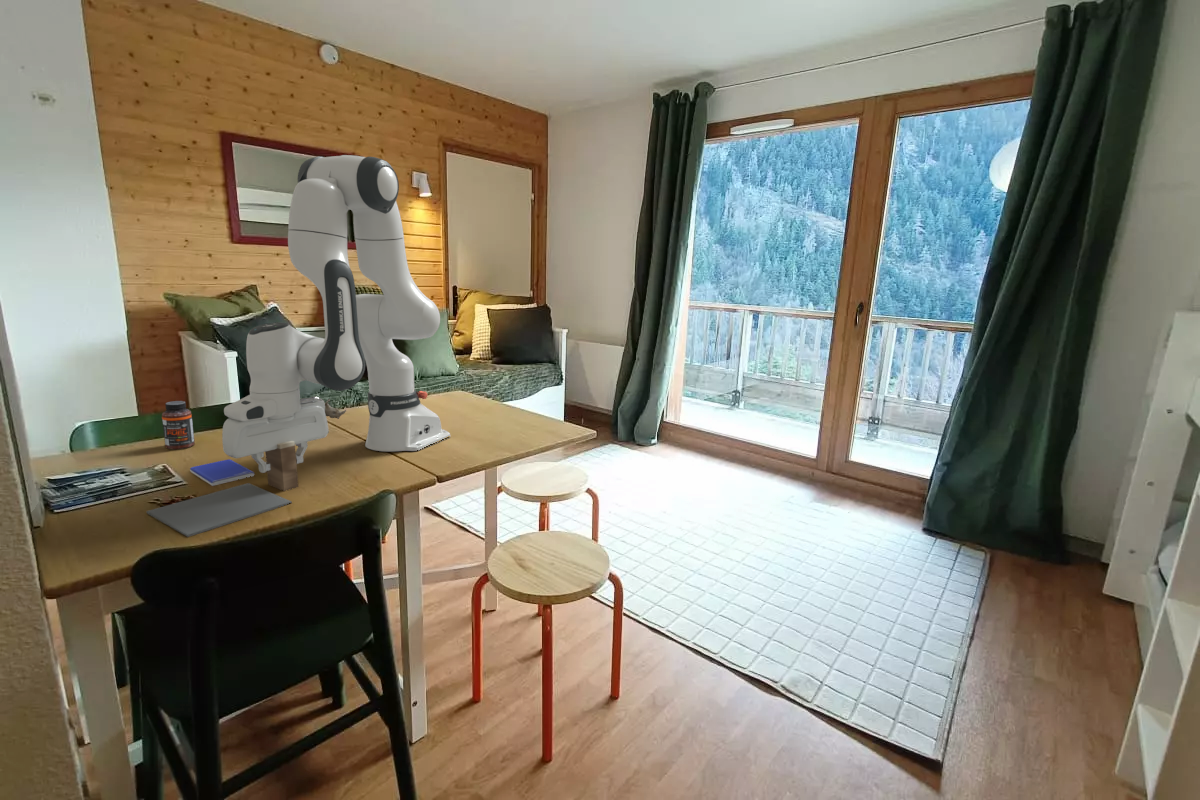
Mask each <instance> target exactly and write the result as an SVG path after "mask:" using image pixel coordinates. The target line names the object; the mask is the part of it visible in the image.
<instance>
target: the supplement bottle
mask: <svg viewBox="0 0 1200 800" xmlns="http://www.w3.org/2000/svg"><path fill="white" fill-rule="evenodd" d="M186 407H187V405H186V401H183V400H175V401H174V400H173V401H168V402H165V411H163V412H162V414H161V420H162V421H161V422H162V429H163V435H164V436H163V437H164V445H165V448H166V449H169V450H184V449H188V448H191V447H192V446H193V447H194V446H195V442H196V441H195V434H194V433H195V432H194V426H193V425H194V424H193V417H192V415H193V414H192V411H191V410H190V409H188V408H186Z"/></svg>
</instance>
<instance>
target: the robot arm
mask: <svg viewBox="0 0 1200 800" xmlns="http://www.w3.org/2000/svg"><path fill="white" fill-rule="evenodd" d="M399 191H400V183H399V179H398V175H397V173H396V171H395V169H394V168H393V166H392V165H391V164H390V163H389V162H388V161H386V160H385V159H382V158H379V157H375V156H359V155H353V154H351V155H349V154H348V155H347V154H342V155H336V156H335V155H334V156H326V157H325V156H316V157H315V156H314V157H311V158H308V159H306V160H304V161H303V162H302V163H301V165H300V166H299V169H298V172H297V184H296V185H295V187H294V190H293V193H292V197H291V203H290V208H289V215H288V227H287V229H288V230H287V231H288V232H287V245H288V246H287V247H288V253H289V258H290V261H291V263H292V265H293V266H294V268H295V269H296V270H297V271H298V272H299V273H300V274H301V275H303V276H304V277H306V278H307V279H308V280H309V281H310V282H312V284H313V285H314V286H315V287H316V288H317V290H318V291H319V294H320V296H321V299H322V305H323V319H324V320H323V322H324V332H325V333H324V338H323V337H319V336H316V335H311V334H308V333H306V332H304V331H303V332H302V331H300V330H298V329H297V328H294V327H293V326H291V324H289V323H287V322H281V321H278V322H277V321H276V322H268V323H264V324H258V325H256V326H254V327H252V328H251V329H250V330H249V332H248V334H247V338H246V346H245V348H246V350H245V351H246V354H245V355H246V367H247V371H248V373H249V377H250V385H249V394H248V395H246V396H245V397H242V398H241V399H239V400H237V401H234V402H232V403H230V404H227V405H226V406H225V407H224V408H223V413H224V416H226V417H227V419H226V420H225V421H224V423H223V426H222V434H221V435H222V440H221V441H222V448H223V449H222V450H223V452H224V454H225V455H227V456H228V457H231V458H234V459H241V458H244V457H249V456H251V458H252V459H253V460H254V462H256V464H258V465H257V466H258V471H259V473H261V474H265V473H267V472H269V471H271V468H270V463H267V462H266V461H265V460H263V458H264V457H265V454H264V453H265V452H266V451H270V450H275V449H277V444H280V443H284V442H288V441H294V442H295V447H296V446H297V448H296V450H295V452H296V464H297V465H299V464H302V463H304V454H305V452H306V451H307V448H308V442H313V441H316V440H320V439H324V438H326V437H327V436H328V434H329V424H328V419H327V416H326V414H325V403H326V402H325V400H323V399H322V398H320V397H318V396H311V397H306V398H305V397H304V398H303V397H302V398H301V394H300V393H301V390H300V383H302V382H306V381H307V382H310V383H314V384H317V385H321V386H324V387H325V388H327V389H328V388H329V389H330V390H332V391H333V390H334V391H339V392H340V391H341V392H342V391H347V390H350V389H351V388H353V387H355V386H356V385H357V384H359V382H360V380H362V378H363V376H364V373H365V371H366V369H367V377H368V380H367V381H368V390H369V391H368V392H367V407H368V412H369V419H368V420H369V422H368V431H367V436H366V441H365V444H364V446H365V448H367V449H369V450H372V451H377V452H378V451H379V452H402V451H407V452H417V450H418V451H420V449H421V450H423V449H425V448H424V447H426V446H428V445H430V444H433V443H435V442H437V441H439V440H442V439H444V438H446V437H448V436H450V437H451V433H450V432H449V431H448V430H446V429H443V428H442V422H441V418H440V416H438V413H435V412H434V411H432V410H431V409H430V408H428V407H426V406H425V405H424V404H423V403H421V401H420V399H422V400H426V399H427V398H428V396H429V395H428V393H427V391H422V390H420V391H417V390H415V373H414V372H415V368H414V363H413V361H412V360H411V358H410V357H409V356H408V355H406V354H404V353H402V352H401V351H399V349H398V348H397V347H396V346H395V344H394V342H393V340H406V341H407V340H408V341H415V340H417V341H418V340H422V339H428V338H429V339H430V338H432V337H433V336H434V335H435V334H436V333H437V331H438V329H439V328H440V324H441V314H440V311H439V308H438V306H437V305H436V303H435V301H433V300H432V299H430V298H429V297H427V296H426V295H425V294H424V293H423V292H422V291H421V289H420V288H419V286H417V284H416V283H415V281H414V279H413V277H412V275H411V272H410V268H409V264H408V258H407V254H406V253H407V252H406V245H405V235H404V228H403V221H402V218H401V213H400V210H399V206H398V202H397V199H398V195H399ZM350 210H351V212H352V214H353V233H354V240H355V247H356V248H355V249H356V257H357V264H358V268H359V271H360V272H361V274H362V275H363V276H364V277H365V278H366V279H369V280H371V281H372V282H374V283H375V284H376V285H377V286H378V287H379V289H380V290H381V292H382V294H379V293H378V294H375V293H361V294H359V293H358V294H357V293H356V284H355V278H354V274H353V272H352V270H351V266H350V261H349V255H348V216H347V213H348V212H349V211H350ZM318 400H319V401H318ZM444 440H445V439H444ZM442 441H443V440H442ZM437 443H438V442H437ZM435 444H436V443H435ZM433 445H434V444H433ZM430 446H431V445H430ZM428 447H429V446H428ZM422 448H423V449H422ZM426 448H427V447H426Z"/></svg>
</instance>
